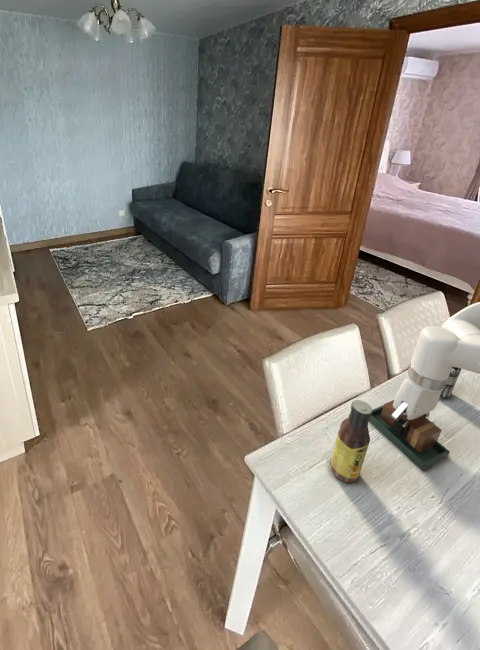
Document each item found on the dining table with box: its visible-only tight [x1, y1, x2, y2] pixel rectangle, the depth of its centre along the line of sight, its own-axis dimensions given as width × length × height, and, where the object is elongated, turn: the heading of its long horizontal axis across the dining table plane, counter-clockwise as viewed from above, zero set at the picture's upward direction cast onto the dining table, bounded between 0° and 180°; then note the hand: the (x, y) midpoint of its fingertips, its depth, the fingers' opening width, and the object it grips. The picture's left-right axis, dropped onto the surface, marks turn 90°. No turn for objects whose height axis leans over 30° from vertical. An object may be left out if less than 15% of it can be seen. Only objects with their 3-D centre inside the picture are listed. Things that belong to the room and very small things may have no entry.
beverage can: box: [439, 367, 462, 399], centre depth 102 cm, size 7×7×12 cm
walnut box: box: [380, 399, 443, 453], centre depth 88 cm, size 11×6×5 cm, turn 22°
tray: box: [368, 404, 451, 472], centre depth 90 cm, size 16×9×2 cm, turn 22°
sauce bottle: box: [330, 399, 373, 483], centre depth 78 cm, size 6×6×20 cm
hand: (407, 429), depth 89 cm, fingers closed on walnut box, 6 cm apart
